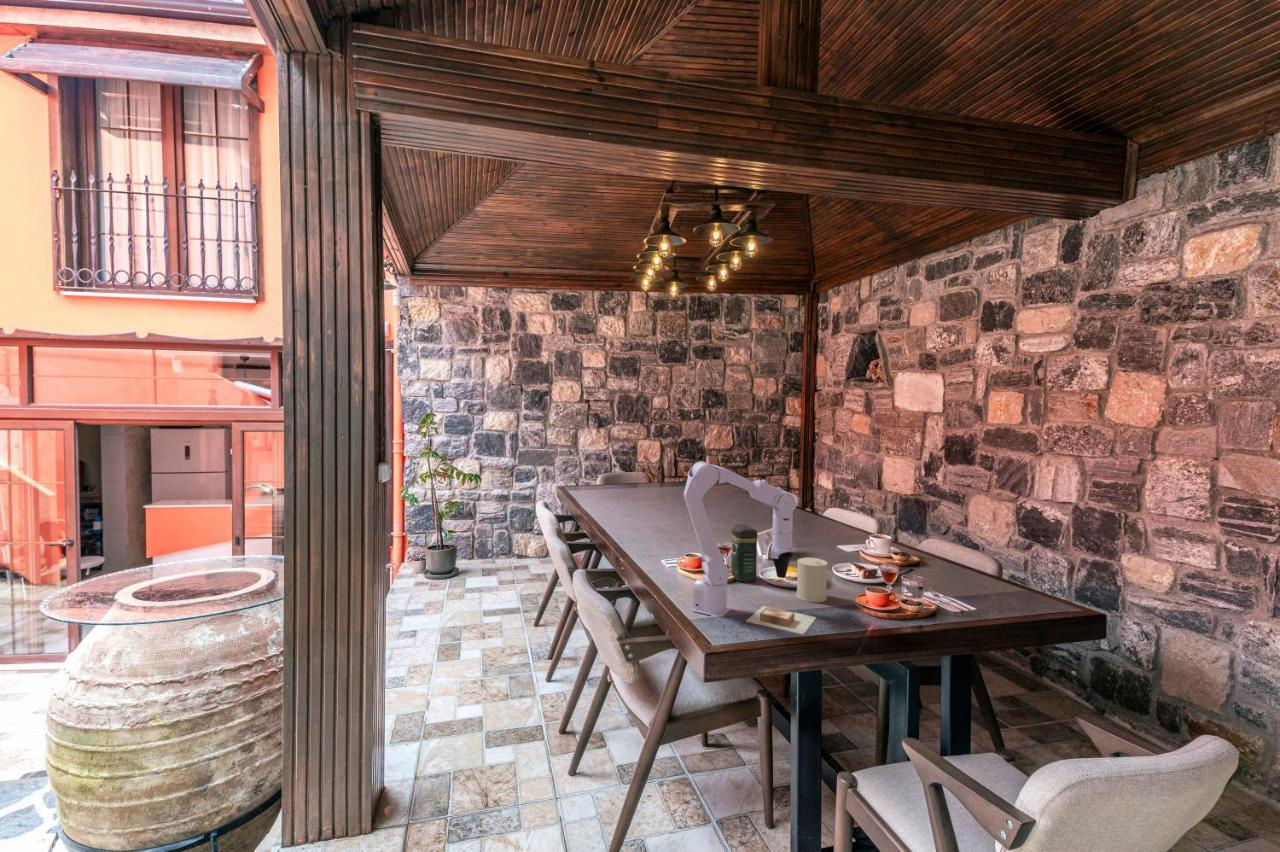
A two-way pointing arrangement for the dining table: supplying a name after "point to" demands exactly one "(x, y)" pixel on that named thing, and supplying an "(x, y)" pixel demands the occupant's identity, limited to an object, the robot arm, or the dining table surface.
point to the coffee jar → (744, 553)
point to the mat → (797, 626)
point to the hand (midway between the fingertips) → (781, 577)
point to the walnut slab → (777, 617)
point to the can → (812, 579)
